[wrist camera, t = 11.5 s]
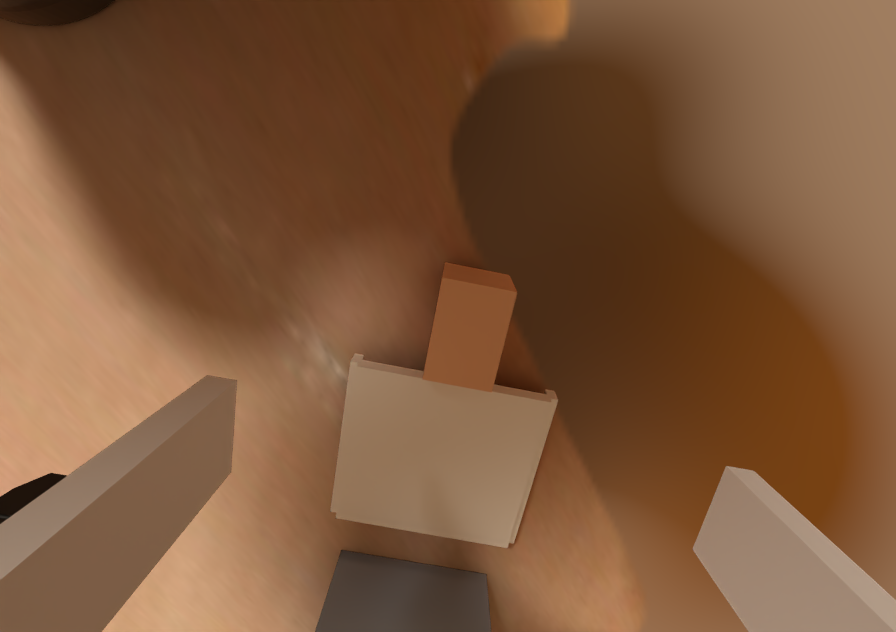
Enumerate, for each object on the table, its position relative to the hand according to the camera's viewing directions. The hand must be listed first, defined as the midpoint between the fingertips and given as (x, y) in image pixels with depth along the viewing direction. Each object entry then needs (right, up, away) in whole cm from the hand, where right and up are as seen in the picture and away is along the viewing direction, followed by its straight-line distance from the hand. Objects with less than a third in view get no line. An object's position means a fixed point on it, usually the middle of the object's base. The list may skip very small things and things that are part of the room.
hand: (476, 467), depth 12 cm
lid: (-1, -2, +18) cm, 18 cm away
